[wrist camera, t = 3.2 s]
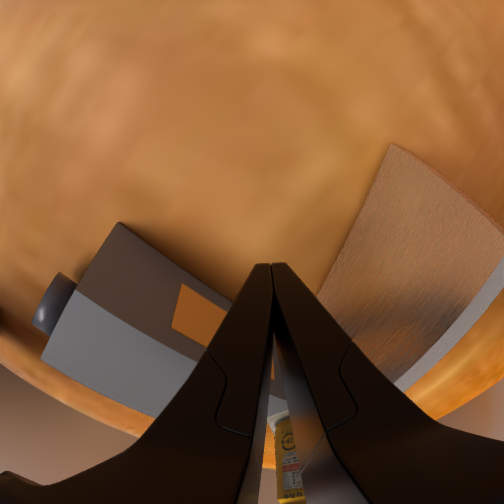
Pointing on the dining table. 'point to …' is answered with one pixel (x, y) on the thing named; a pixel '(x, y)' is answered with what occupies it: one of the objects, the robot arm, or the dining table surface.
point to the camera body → (134, 326)
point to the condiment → (286, 461)
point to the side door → (414, 269)
